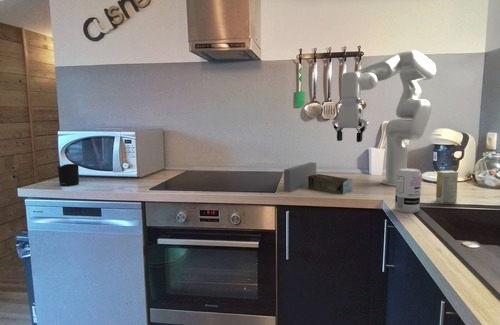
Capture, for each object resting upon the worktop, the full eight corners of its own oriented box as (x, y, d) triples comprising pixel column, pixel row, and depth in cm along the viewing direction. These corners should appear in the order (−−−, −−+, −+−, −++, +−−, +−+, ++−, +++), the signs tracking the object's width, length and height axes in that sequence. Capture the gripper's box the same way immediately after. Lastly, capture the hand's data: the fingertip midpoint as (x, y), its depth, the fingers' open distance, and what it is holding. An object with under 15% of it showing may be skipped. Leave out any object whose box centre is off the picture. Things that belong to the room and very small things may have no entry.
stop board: (315, 182, 185) (316, 162, 183) (289, 192, 162) (289, 170, 161) (310, 181, 187) (310, 162, 185) (283, 191, 164) (283, 169, 162)
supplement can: (398, 206, 137) (400, 167, 135) (422, 209, 132) (424, 169, 130) (391, 210, 131) (393, 170, 129) (415, 214, 126) (418, 172, 124)
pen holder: (57, 184, 184) (55, 165, 182) (77, 182, 190) (75, 163, 188) (61, 187, 177) (59, 167, 175) (81, 184, 182) (80, 165, 181)
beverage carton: (343, 195, 157) (343, 180, 156) (307, 188, 170) (307, 175, 169) (352, 192, 162) (352, 177, 161) (316, 186, 176) (317, 172, 175)
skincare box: (450, 200, 146) (452, 170, 144) (456, 202, 142) (459, 172, 140) (434, 200, 146) (436, 170, 144) (440, 203, 141) (442, 172, 140)
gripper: (373, 101, 152) (371, 141, 155) (338, 102, 165) (337, 139, 167) (364, 101, 147) (362, 143, 150) (328, 102, 160) (327, 140, 162)
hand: (349, 141), depth 158 cm, fingers open, 9 cm apart
